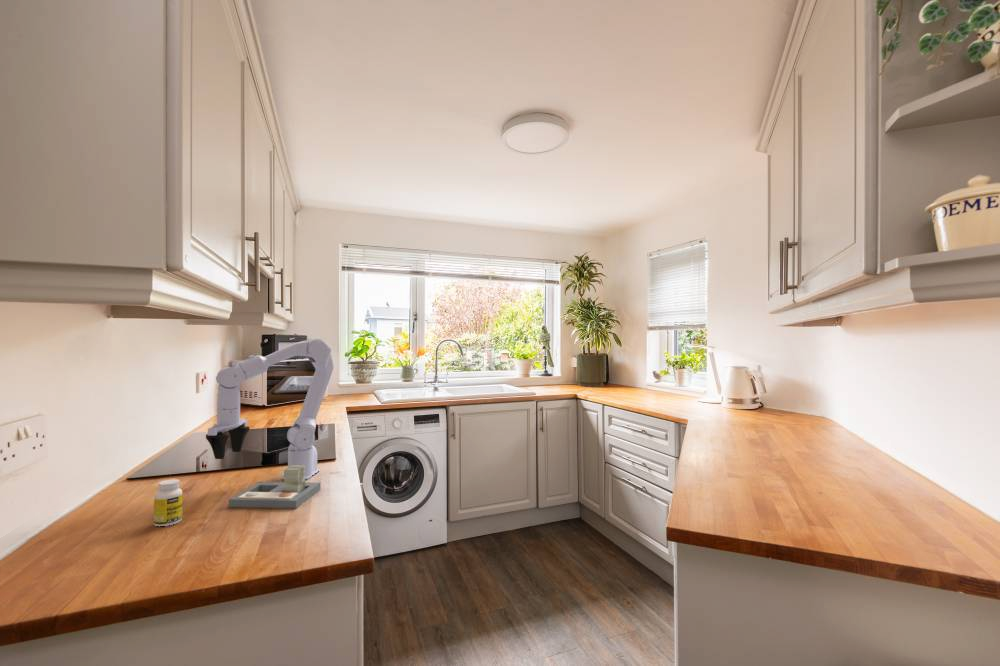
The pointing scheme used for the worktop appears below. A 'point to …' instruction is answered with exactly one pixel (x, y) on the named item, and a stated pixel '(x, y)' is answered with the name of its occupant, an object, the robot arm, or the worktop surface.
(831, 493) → the worktop surface
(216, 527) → the worktop surface
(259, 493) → the board
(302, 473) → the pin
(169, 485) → the supplement bottle
